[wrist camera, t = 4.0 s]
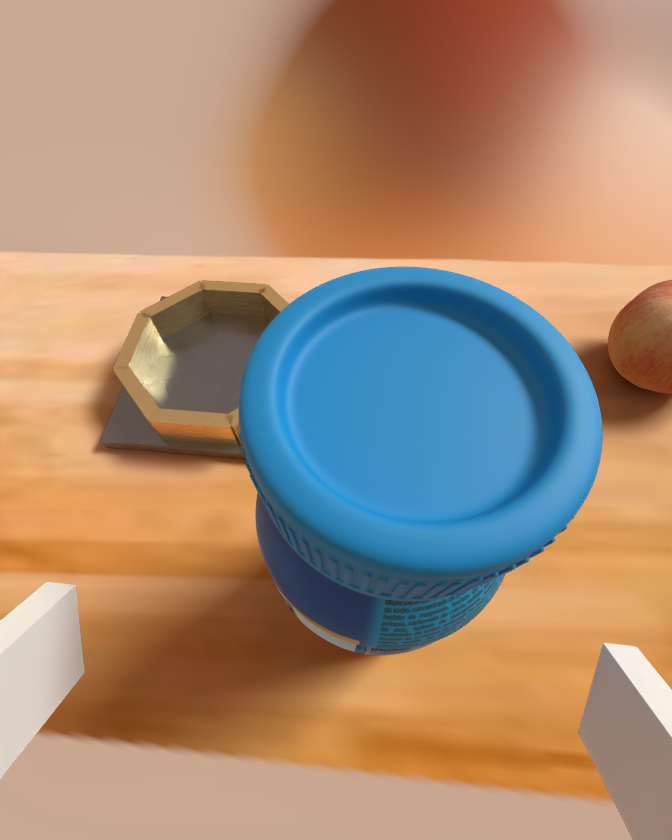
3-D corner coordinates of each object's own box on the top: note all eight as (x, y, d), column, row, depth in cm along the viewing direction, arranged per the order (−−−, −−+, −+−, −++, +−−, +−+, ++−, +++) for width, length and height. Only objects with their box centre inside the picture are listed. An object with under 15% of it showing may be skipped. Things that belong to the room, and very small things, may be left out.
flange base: (324, 315, 35) (322, 283, 32) (302, 463, 28) (298, 440, 25) (165, 305, 36) (150, 272, 33) (106, 447, 29) (80, 422, 26)
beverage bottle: (424, 673, 22) (731, 730, 5) (274, 635, 23) (83, 566, 6) (439, 522, 26) (634, 261, 9) (312, 495, 27) (265, 211, 10)
